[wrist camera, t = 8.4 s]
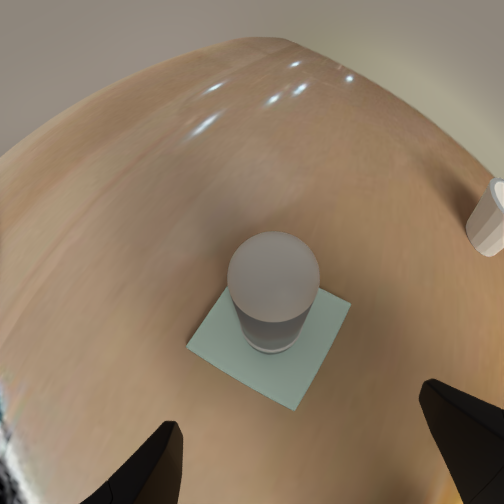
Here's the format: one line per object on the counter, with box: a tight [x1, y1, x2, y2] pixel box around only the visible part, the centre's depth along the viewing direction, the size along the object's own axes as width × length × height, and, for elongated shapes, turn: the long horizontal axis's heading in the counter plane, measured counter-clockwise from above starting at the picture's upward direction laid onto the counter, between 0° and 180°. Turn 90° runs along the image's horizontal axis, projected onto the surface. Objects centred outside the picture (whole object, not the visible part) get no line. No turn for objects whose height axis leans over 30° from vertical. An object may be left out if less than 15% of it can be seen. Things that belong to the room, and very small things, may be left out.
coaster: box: [186, 286, 351, 411], centre depth 23 cm, size 10×10×1 cm
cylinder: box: [227, 231, 320, 355], centre depth 17 cm, size 5×5×12 cm
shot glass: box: [466, 178, 504, 257], centre depth 23 cm, size 7×7×7 cm
